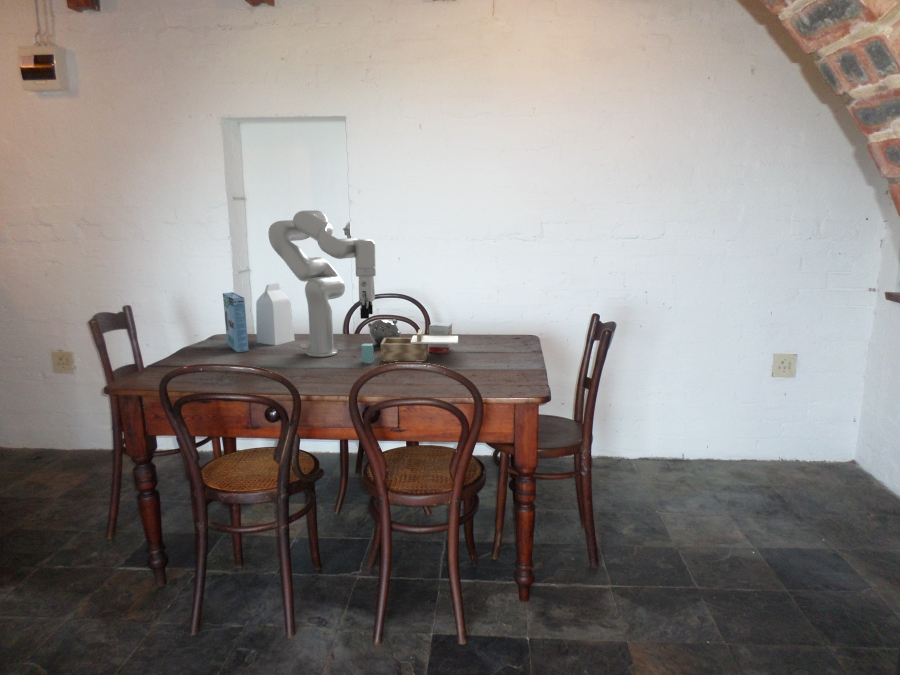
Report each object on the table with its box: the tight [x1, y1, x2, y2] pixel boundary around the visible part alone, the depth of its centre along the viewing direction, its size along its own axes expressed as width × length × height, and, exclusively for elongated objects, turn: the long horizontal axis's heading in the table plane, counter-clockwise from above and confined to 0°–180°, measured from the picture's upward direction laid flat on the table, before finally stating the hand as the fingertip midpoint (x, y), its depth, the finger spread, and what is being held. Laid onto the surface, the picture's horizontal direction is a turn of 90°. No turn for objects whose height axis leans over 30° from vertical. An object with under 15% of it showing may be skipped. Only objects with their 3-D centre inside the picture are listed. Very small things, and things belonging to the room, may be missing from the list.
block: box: [361, 343, 374, 363], centre depth 248 cm, size 4×4×7 cm
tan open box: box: [379, 337, 429, 363], centre depth 254 cm, size 18×12×7 cm, turn 89°
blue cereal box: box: [222, 291, 249, 353], centre depth 269 cm, size 20×5×23 cm, turn 31°
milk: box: [255, 283, 296, 346], centre depth 282 cm, size 12×12×26 cm
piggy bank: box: [367, 318, 402, 347], centre depth 276 cm, size 11×15×12 cm
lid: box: [411, 329, 459, 345], centre depth 253 cm, size 19×13×4 cm
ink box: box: [428, 321, 453, 354], centre depth 266 cm, size 9×9×12 cm
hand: (366, 316), depth 244 cm, fingers open, 9 cm apart
